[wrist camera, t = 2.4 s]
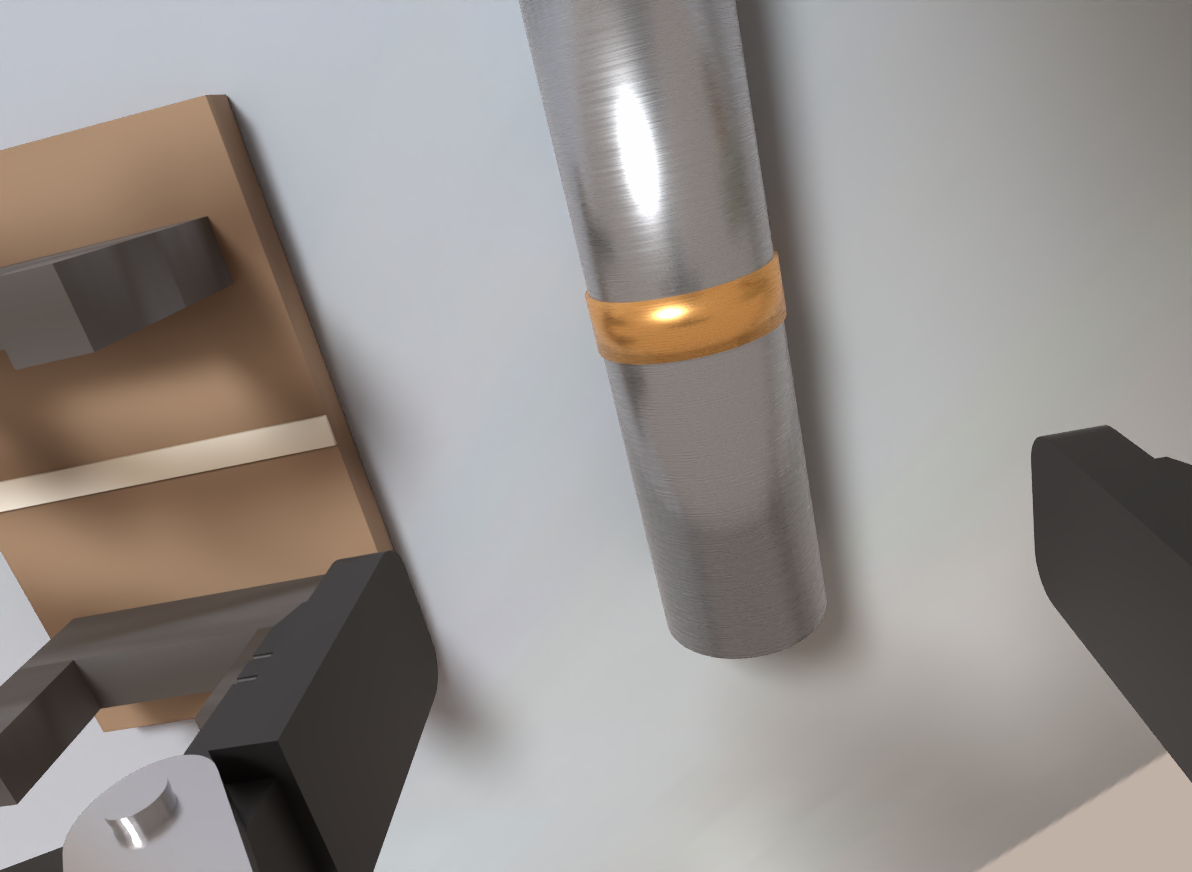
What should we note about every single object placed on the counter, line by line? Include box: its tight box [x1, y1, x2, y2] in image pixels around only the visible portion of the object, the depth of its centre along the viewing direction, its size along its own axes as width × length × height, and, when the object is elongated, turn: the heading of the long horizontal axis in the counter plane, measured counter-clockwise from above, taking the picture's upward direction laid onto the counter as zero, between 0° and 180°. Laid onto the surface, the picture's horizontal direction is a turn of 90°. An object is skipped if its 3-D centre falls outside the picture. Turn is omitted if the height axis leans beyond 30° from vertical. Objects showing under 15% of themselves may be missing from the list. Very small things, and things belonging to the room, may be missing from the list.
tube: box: [519, 0, 827, 659], centre depth 23 cm, size 20×5×5 cm, turn 13°
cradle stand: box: [0, 95, 394, 807], centre depth 25 cm, size 20×13×8 cm, turn 13°
